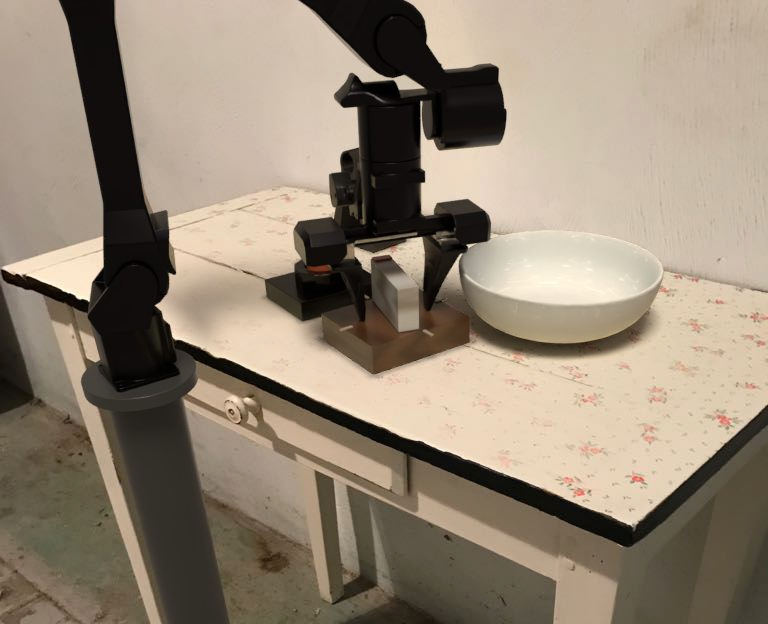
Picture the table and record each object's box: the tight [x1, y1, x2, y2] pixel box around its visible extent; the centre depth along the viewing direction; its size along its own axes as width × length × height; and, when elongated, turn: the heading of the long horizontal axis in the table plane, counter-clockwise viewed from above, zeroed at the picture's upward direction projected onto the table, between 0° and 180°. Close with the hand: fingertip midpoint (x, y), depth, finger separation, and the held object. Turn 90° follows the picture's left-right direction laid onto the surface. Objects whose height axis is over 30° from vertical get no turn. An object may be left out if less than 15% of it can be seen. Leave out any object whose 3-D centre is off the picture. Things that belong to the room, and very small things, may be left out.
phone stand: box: [333, 146, 407, 253], centre depth 109 cm, size 9×6×12 cm, turn 43°
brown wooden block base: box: [320, 288, 471, 375], centre depth 86 cm, size 13×13×3 cm
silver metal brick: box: [370, 254, 420, 332], centre depth 84 cm, size 9×2×5 cm, turn 18°
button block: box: [264, 258, 372, 322], centre depth 96 cm, size 11×9×4 cm
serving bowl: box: [458, 229, 665, 344], centre depth 87 cm, size 21×21×7 cm
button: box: [307, 265, 330, 271], centre depth 95 cm, size 4×4×2 cm
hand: (394, 314), depth 85 cm, fingers open, 7 cm apart
